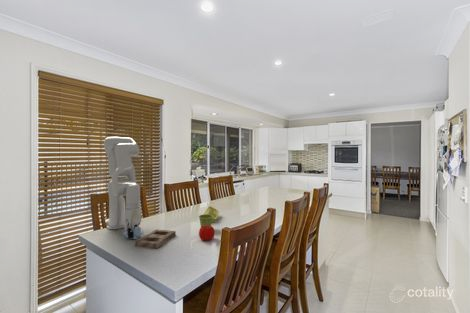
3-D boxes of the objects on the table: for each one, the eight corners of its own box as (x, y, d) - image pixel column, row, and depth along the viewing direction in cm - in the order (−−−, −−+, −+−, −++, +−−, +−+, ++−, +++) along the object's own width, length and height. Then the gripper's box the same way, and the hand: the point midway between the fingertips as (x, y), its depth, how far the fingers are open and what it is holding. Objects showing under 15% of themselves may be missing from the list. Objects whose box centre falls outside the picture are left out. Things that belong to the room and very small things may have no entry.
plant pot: (215, 227, 156) (215, 214, 156) (210, 232, 147) (210, 218, 146) (201, 226, 158) (201, 213, 158) (196, 231, 149) (196, 217, 148)
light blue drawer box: (122, 237, 136) (122, 227, 136) (127, 235, 140) (127, 224, 140) (139, 239, 134) (139, 228, 134) (143, 237, 138) (143, 226, 138)
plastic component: (216, 220, 166) (203, 213, 165) (211, 228, 166) (199, 222, 166) (219, 210, 185) (208, 205, 185) (215, 218, 186) (204, 213, 186)
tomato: (206, 235, 142) (206, 223, 142) (217, 239, 136) (217, 226, 136) (195, 239, 134) (195, 227, 134) (205, 243, 129) (205, 230, 129)
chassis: (135, 246, 125) (135, 241, 125) (155, 233, 145) (155, 229, 145) (157, 248, 122) (157, 243, 122) (175, 235, 142) (175, 230, 142)
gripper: (136, 202, 145) (136, 231, 146) (117, 208, 129) (117, 241, 130) (147, 202, 144) (147, 232, 144) (129, 209, 127) (129, 242, 128)
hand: (133, 236), depth 137 cm, fingers closed on light blue drawer box, 4 cm apart
